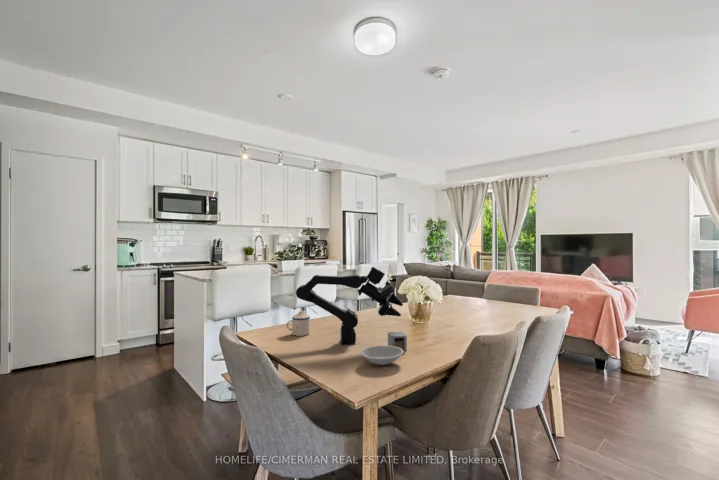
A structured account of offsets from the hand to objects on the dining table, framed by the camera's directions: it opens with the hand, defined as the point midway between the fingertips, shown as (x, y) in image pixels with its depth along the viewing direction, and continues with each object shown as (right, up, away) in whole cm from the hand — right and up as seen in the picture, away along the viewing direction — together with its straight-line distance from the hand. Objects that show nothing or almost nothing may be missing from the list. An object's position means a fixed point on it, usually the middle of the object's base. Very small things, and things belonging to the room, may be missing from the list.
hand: (401, 310), depth 162 cm
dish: (-11, -16, -27) cm, 33 cm away
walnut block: (-3, -16, -8) cm, 18 cm away
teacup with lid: (-51, -15, +14) cm, 55 cm away
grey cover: (-3, -15, -8) cm, 18 cm away
